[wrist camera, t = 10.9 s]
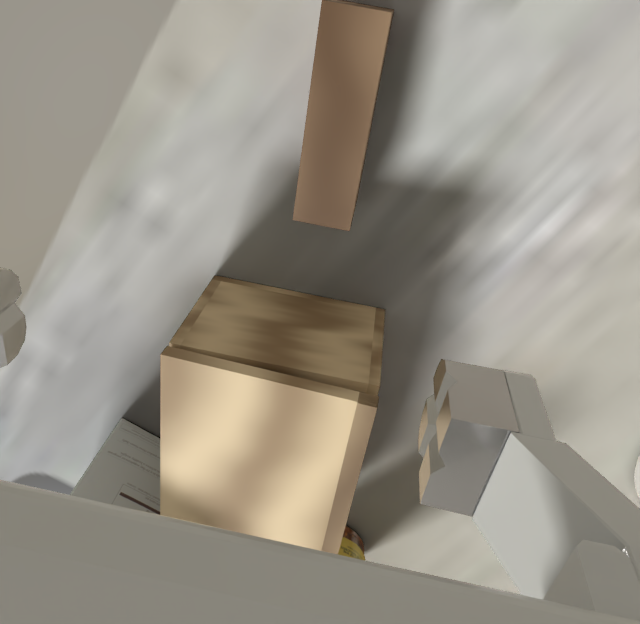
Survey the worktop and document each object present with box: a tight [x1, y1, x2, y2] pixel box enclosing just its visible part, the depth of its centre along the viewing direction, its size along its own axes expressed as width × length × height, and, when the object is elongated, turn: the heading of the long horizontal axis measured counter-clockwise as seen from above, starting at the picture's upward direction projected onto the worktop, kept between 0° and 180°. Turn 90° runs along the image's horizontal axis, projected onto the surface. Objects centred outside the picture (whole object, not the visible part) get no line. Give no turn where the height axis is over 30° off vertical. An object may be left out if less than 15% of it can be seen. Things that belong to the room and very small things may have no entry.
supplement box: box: [70, 419, 160, 515], centre depth 39 cm, size 10×9×17 cm
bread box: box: [169, 275, 385, 396], centre depth 36 cm, size 11×17×8 cm
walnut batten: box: [293, 0, 394, 231], centre depth 28 cm, size 3×10×4 cm, turn 171°
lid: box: [160, 346, 379, 554], centre depth 32 cm, size 11×17×1 cm
